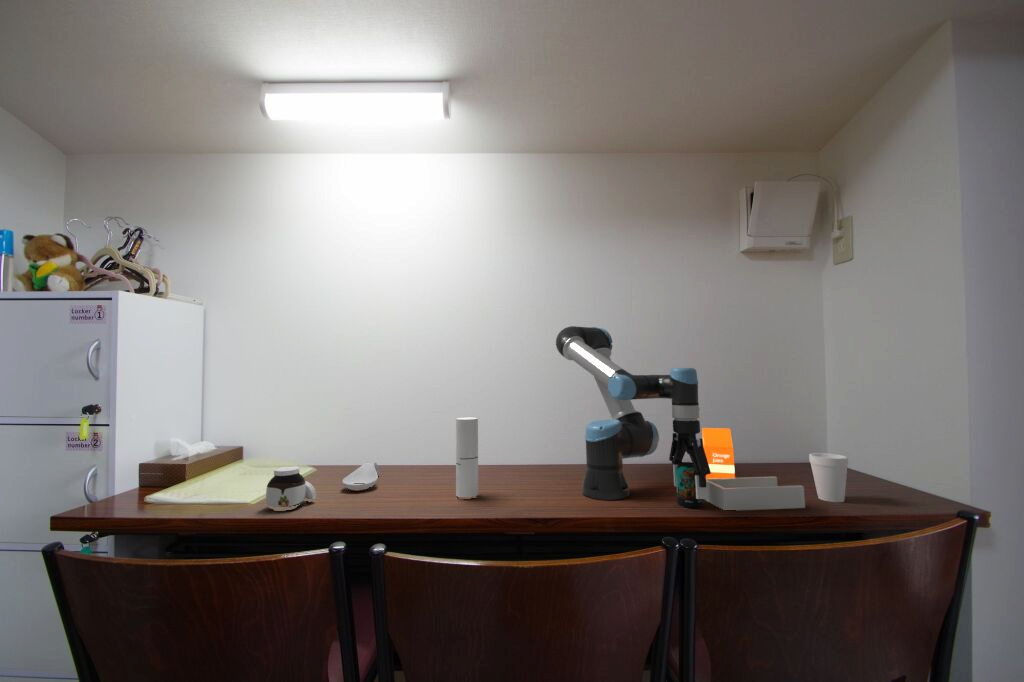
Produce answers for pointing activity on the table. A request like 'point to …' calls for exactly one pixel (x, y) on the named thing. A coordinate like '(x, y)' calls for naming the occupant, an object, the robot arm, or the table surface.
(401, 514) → the table surface
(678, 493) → the beverage can
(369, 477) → the spoon rest
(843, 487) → the foam cup
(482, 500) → the table surface
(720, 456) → the orange juice
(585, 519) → the table surface
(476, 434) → the cylindrical container
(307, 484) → the spread jar
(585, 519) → the table surface
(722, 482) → the grey shallow open box
